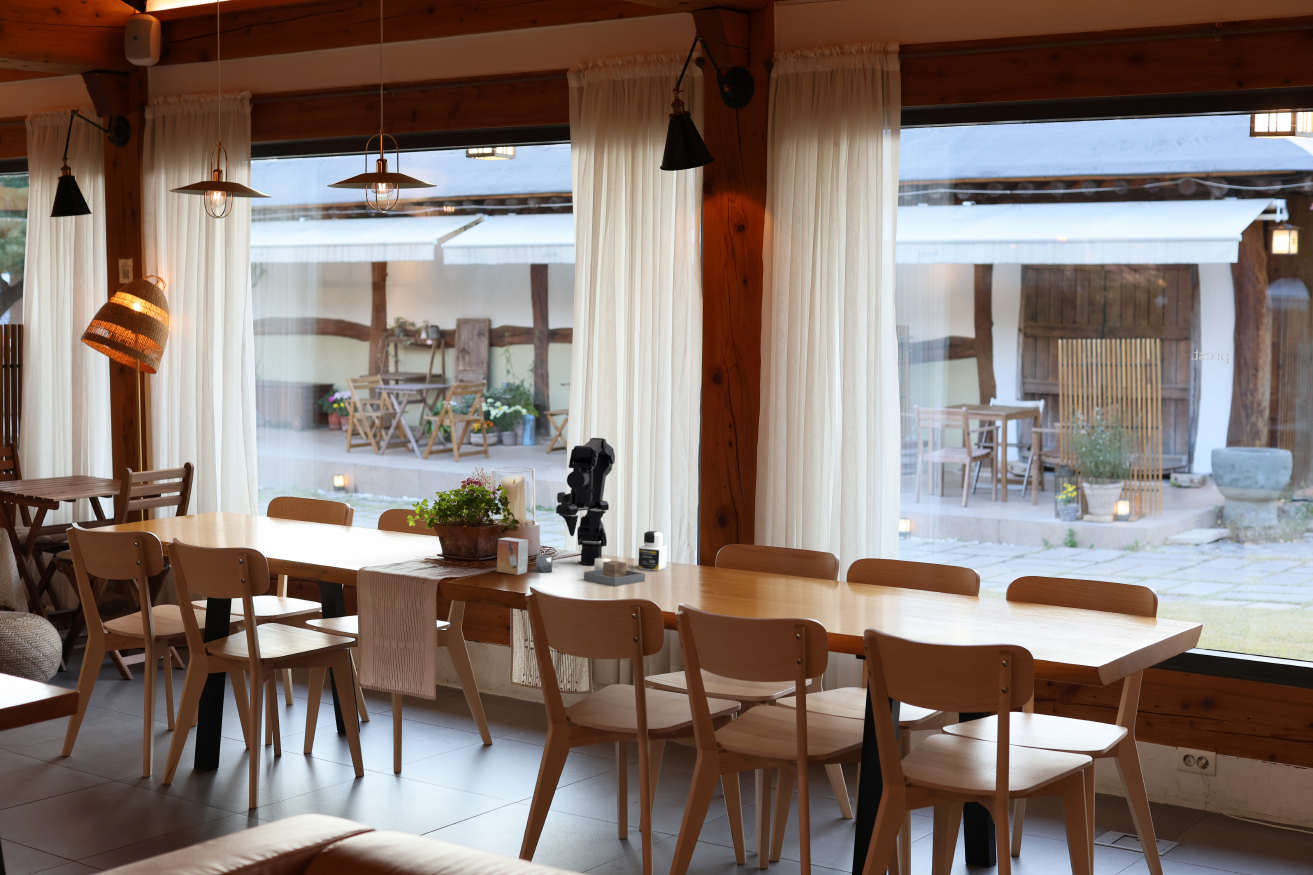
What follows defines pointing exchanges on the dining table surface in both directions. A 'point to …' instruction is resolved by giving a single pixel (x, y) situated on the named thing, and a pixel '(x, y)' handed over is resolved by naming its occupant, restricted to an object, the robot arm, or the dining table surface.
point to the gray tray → (600, 578)
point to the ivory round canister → (600, 562)
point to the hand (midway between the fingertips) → (582, 534)
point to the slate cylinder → (544, 563)
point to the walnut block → (614, 569)
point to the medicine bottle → (652, 552)
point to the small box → (512, 555)
